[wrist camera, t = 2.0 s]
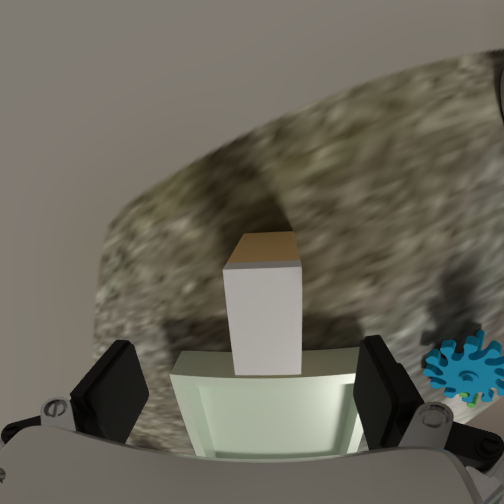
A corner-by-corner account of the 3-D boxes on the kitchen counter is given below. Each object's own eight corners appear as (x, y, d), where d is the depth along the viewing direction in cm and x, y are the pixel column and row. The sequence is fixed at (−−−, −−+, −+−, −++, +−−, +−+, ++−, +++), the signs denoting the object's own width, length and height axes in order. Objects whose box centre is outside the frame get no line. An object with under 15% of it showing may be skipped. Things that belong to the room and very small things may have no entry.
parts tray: (367, 345, 22) (378, 370, 19) (342, 459, 27) (345, 481, 23) (182, 350, 24) (169, 374, 20) (212, 461, 28) (207, 482, 25)
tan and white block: (293, 231, 20) (301, 266, 13) (295, 308, 22) (301, 374, 14) (243, 233, 21) (222, 269, 13) (249, 309, 22) (235, 374, 14)
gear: (414, 344, 20) (524, 352, 12) (433, 296, 23) (527, 296, 15) (425, 405, 24) (504, 416, 16) (442, 363, 27) (514, 369, 19)
